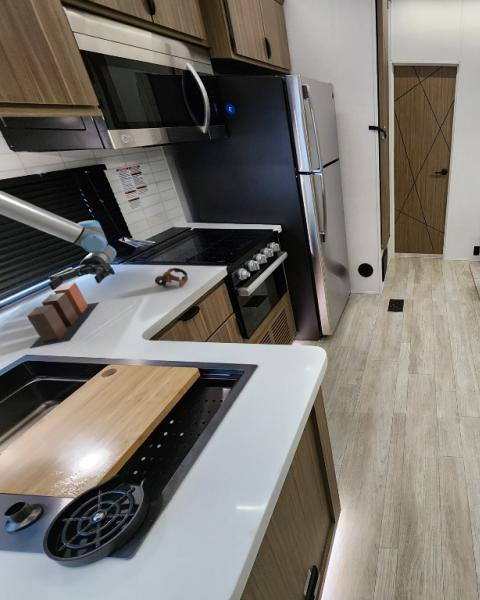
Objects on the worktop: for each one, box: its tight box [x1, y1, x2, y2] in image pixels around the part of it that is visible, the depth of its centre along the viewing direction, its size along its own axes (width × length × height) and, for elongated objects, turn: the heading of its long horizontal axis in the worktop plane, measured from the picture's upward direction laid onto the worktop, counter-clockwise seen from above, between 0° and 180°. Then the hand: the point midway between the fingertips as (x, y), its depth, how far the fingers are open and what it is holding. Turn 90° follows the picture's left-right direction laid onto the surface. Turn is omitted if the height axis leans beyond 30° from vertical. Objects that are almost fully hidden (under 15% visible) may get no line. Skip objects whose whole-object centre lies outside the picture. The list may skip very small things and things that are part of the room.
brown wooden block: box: [41, 293, 79, 327], centre depth 113 cm, size 4×6×10 cm
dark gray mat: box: [29, 301, 100, 349], centre depth 115 cm, size 28×10×1 cm, turn 23°
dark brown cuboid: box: [26, 305, 68, 343], centre depth 105 cm, size 4×6×10 cm
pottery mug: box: [154, 267, 189, 288], centre depth 140 cm, size 12×10×8 cm
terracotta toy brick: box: [53, 282, 88, 314], centre depth 120 cm, size 4×6×10 cm
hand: (74, 283), depth 124 cm, fingers open, 13 cm apart
